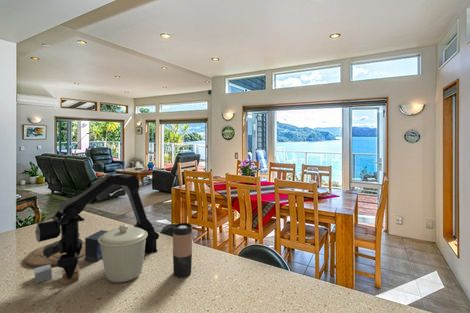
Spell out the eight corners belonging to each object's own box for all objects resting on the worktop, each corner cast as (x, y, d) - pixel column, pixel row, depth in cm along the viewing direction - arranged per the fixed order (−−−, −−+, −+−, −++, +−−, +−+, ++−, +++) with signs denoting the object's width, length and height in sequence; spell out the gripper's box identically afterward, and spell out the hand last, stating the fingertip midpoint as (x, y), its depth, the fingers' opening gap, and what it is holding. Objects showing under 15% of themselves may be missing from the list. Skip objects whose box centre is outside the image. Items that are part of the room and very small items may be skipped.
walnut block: (79, 274, 104) (79, 265, 103) (78, 281, 99) (77, 271, 99) (64, 277, 101) (64, 267, 101) (62, 284, 97) (62, 274, 97)
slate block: (50, 273, 104) (50, 264, 104) (51, 279, 100) (51, 269, 100) (34, 278, 101) (34, 268, 100) (35, 283, 97) (35, 273, 97)
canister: (98, 293, 91) (97, 236, 90) (99, 270, 107) (98, 220, 106) (151, 281, 100) (151, 228, 98) (144, 261, 116) (144, 215, 114)
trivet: (51, 273, 105) (50, 268, 105) (11, 262, 113) (11, 258, 113) (101, 248, 128) (101, 244, 128) (66, 240, 137) (65, 237, 137)
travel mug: (195, 270, 108) (195, 224, 107) (185, 279, 101) (186, 230, 100) (179, 267, 111) (179, 221, 109) (169, 276, 104) (169, 227, 102)
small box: (97, 262, 114) (96, 239, 113) (84, 260, 115) (83, 238, 114) (113, 252, 124) (112, 230, 123) (101, 250, 125) (100, 229, 124)
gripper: (50, 228, 104) (51, 265, 105) (38, 247, 87) (40, 290, 88) (81, 225, 109) (82, 260, 110) (76, 241, 92) (77, 283, 93)
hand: (71, 272), depth 100 cm, fingers open, 9 cm apart
